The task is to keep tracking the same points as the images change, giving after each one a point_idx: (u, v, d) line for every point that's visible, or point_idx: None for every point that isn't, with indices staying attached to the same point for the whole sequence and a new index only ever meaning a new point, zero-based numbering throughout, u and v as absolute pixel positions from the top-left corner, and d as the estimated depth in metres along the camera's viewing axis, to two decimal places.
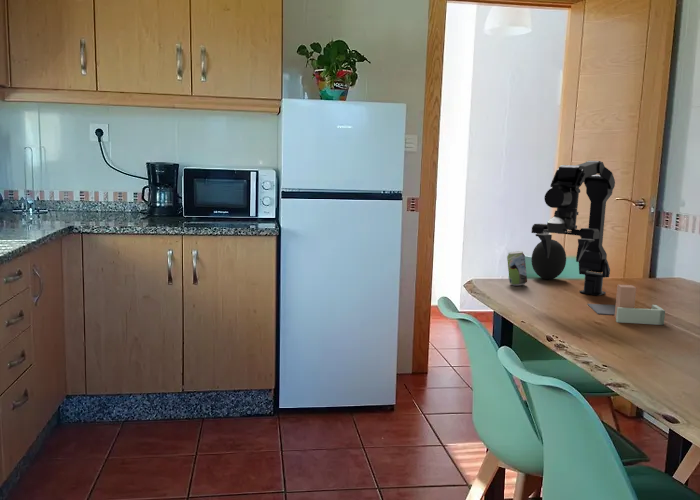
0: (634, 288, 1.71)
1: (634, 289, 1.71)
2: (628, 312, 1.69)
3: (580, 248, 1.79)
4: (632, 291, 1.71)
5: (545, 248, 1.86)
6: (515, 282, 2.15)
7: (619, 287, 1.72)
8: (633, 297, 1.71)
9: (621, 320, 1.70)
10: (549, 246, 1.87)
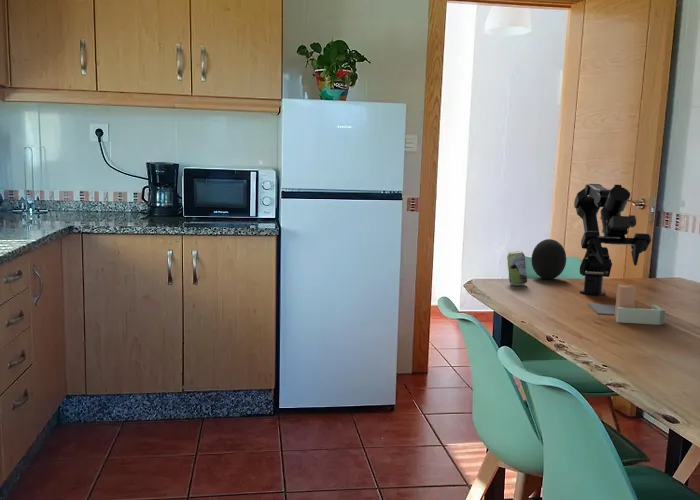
0: (634, 288, 1.71)
1: (634, 289, 1.71)
2: (628, 312, 1.69)
3: (638, 250, 1.80)
4: (632, 291, 1.71)
5: (601, 253, 1.81)
6: (515, 282, 2.15)
7: (619, 287, 1.72)
8: (633, 297, 1.71)
9: (621, 320, 1.70)
10: None
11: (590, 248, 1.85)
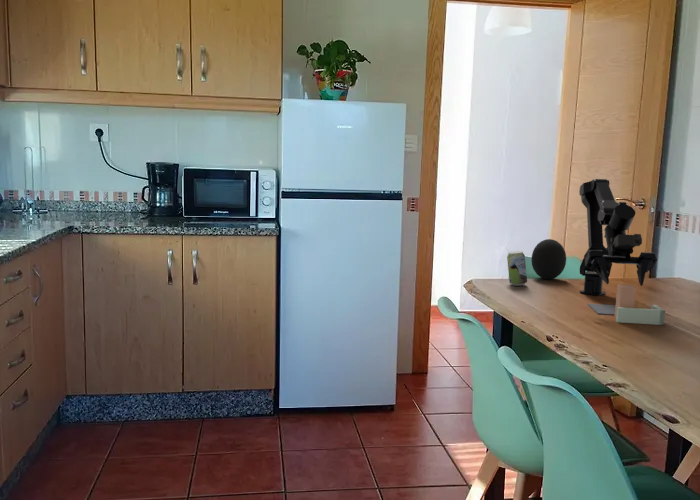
0: (634, 288, 1.71)
1: (634, 289, 1.71)
2: (628, 312, 1.69)
3: (644, 270, 1.75)
4: (632, 291, 1.71)
5: (605, 272, 1.76)
6: (515, 282, 2.15)
7: (619, 287, 1.72)
8: (633, 297, 1.71)
9: (621, 320, 1.70)
10: None
11: (594, 267, 1.80)
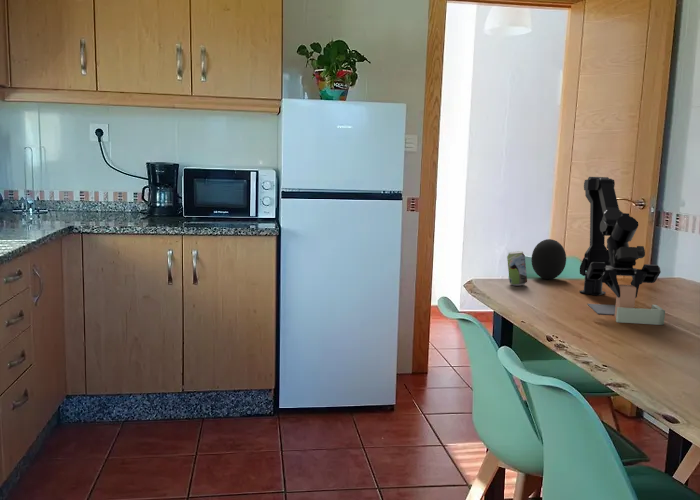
0: (634, 288, 1.71)
1: (634, 289, 1.71)
2: (628, 312, 1.69)
3: (638, 282, 1.72)
4: (632, 291, 1.71)
5: (617, 285, 1.73)
6: (515, 282, 2.15)
7: (619, 287, 1.72)
8: (633, 297, 1.71)
9: (621, 320, 1.70)
10: None
11: (605, 280, 1.77)
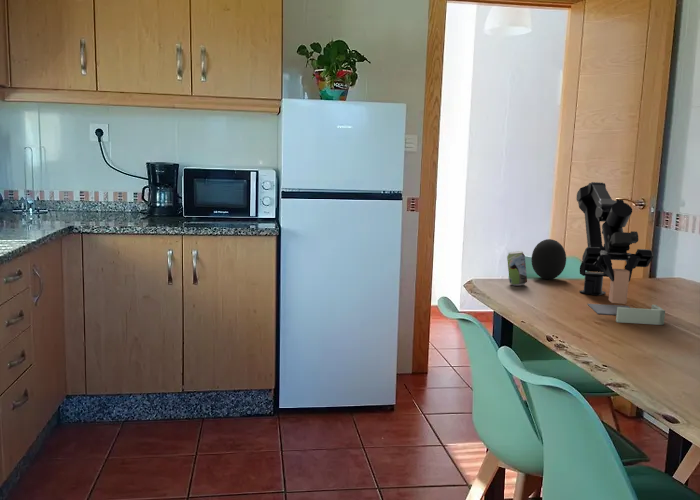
0: (627, 272, 1.77)
1: (627, 273, 1.77)
2: (628, 312, 1.69)
3: (631, 266, 1.79)
4: (626, 275, 1.77)
5: (611, 270, 1.79)
6: (515, 282, 2.15)
7: (613, 271, 1.79)
8: (626, 281, 1.77)
9: (621, 320, 1.70)
10: None
11: (600, 264, 1.83)
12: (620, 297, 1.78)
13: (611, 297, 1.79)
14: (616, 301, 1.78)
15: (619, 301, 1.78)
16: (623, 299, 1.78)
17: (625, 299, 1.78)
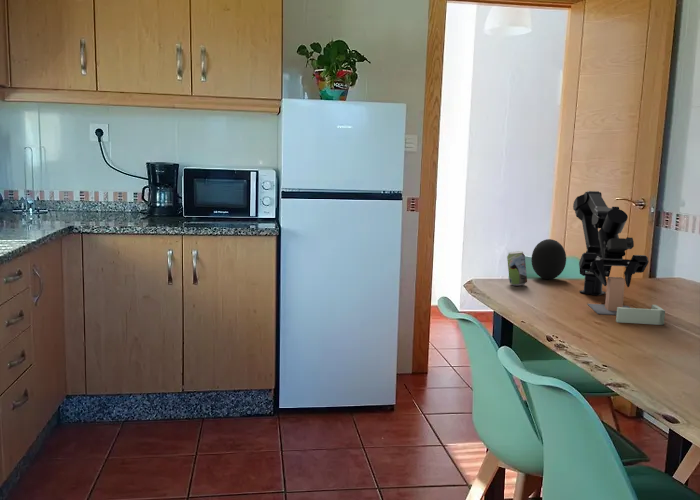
0: (623, 280, 1.80)
1: (623, 281, 1.80)
2: (628, 312, 1.69)
3: (631, 272, 1.82)
4: (621, 283, 1.80)
5: (603, 275, 1.82)
6: (515, 282, 2.15)
7: (609, 279, 1.82)
8: (622, 288, 1.81)
9: (621, 320, 1.70)
10: None
11: (593, 270, 1.87)
12: (615, 305, 1.82)
13: (607, 305, 1.83)
14: (612, 308, 1.82)
15: (615, 308, 1.82)
16: None
17: None
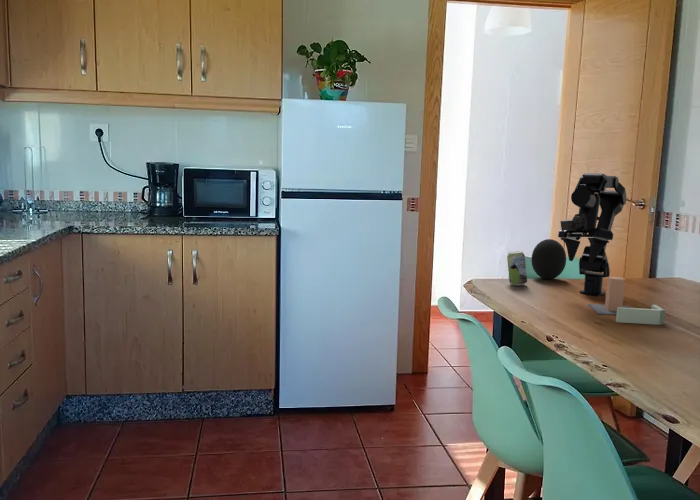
0: (623, 280, 1.80)
1: (623, 281, 1.80)
2: (628, 312, 1.69)
3: (591, 247, 1.87)
4: (621, 283, 1.80)
5: (568, 251, 1.97)
6: (515, 282, 2.15)
7: (609, 279, 1.82)
8: (622, 288, 1.81)
9: (621, 320, 1.70)
10: (574, 250, 1.97)
11: None
12: (615, 305, 1.82)
13: (607, 305, 1.83)
14: (612, 308, 1.82)
15: (615, 308, 1.82)
16: None
17: None
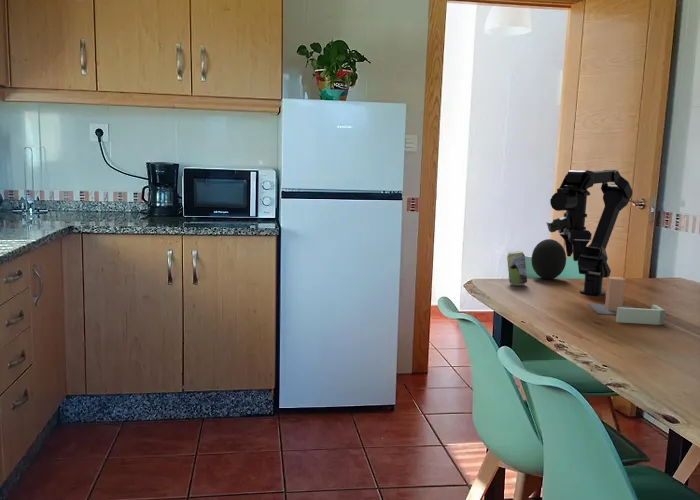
0: (623, 280, 1.80)
1: (623, 281, 1.80)
2: (628, 312, 1.69)
3: (572, 247, 1.90)
4: (621, 283, 1.80)
5: None
6: (515, 282, 2.15)
7: (609, 279, 1.82)
8: (622, 288, 1.81)
9: (621, 320, 1.70)
10: (572, 246, 2.00)
11: None
12: (615, 305, 1.82)
13: (607, 305, 1.83)
14: (612, 308, 1.82)
15: (615, 308, 1.82)
16: None
17: None
